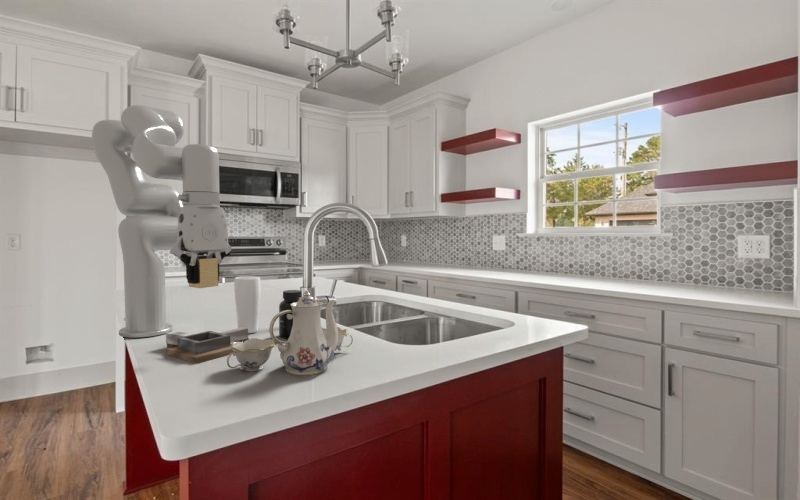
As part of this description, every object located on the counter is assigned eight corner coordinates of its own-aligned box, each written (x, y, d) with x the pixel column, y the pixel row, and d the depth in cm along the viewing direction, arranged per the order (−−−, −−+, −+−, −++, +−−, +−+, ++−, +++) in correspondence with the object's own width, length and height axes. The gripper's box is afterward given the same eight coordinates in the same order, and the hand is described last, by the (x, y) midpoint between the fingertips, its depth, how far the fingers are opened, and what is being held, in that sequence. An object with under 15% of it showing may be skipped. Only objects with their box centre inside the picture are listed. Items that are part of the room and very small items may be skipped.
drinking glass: (253, 335, 116) (252, 279, 115) (229, 334, 117) (229, 278, 116) (265, 329, 122) (265, 276, 121) (243, 328, 124) (243, 275, 123)
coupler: (188, 286, 98) (188, 255, 98) (206, 284, 102) (206, 254, 102) (200, 288, 96) (199, 256, 96) (218, 286, 100) (217, 255, 99)
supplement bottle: (273, 337, 114) (273, 292, 113) (288, 331, 120) (288, 288, 119) (296, 340, 111) (296, 293, 111) (310, 334, 118) (310, 289, 117)
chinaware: (332, 351, 108) (328, 284, 108) (377, 359, 96) (372, 283, 96) (219, 379, 88) (214, 296, 88) (258, 393, 76) (252, 298, 76)
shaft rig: (154, 350, 102) (154, 334, 101) (218, 335, 115) (218, 321, 115) (197, 363, 92) (196, 346, 92) (260, 345, 106) (260, 330, 106)
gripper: (173, 198, 89) (176, 287, 90) (244, 202, 103) (245, 279, 104) (154, 199, 93) (157, 285, 94) (224, 203, 107) (226, 277, 108)
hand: (203, 281), depth 99 cm, fingers closed on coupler, 4 cm apart
